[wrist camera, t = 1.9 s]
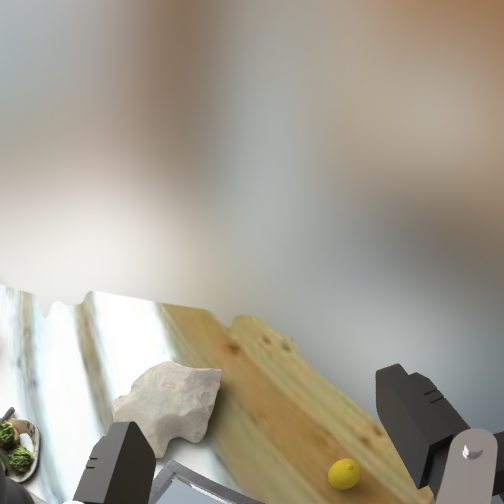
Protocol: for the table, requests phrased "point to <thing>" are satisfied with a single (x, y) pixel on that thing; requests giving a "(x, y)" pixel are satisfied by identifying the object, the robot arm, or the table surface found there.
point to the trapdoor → (183, 495)
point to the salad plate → (18, 448)
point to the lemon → (344, 474)
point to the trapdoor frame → (188, 476)
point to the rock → (170, 403)
